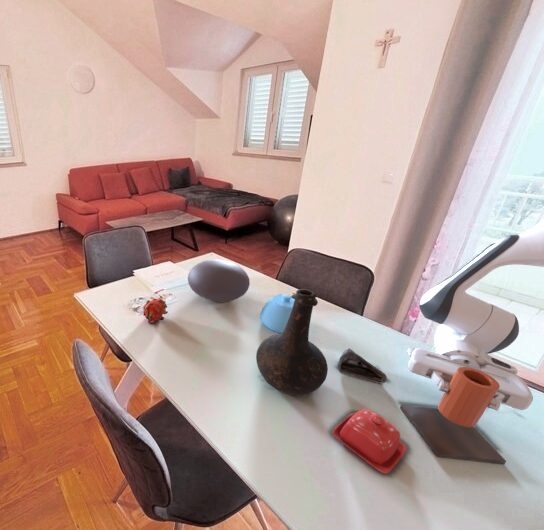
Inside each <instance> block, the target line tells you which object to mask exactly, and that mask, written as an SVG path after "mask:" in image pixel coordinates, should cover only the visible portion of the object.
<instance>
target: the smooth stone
mask: <svg viewBox="0 0 544 530" xmlns="http://www.w3.org/2000/svg"><path fill="white" fill-rule="evenodd" d="M187 283H188V285H189V287H190V289H191V291H193V292H194V293H195V294H196V295H198V296H199V297H201V298H203V299H204V300H208V301H212V302H220V303H222V302H223V303H224V302H231V301H235V300H238V299H239V298H241V297H243V296H244V295H245V294H246V293H247V292H248V290H249V288H250V285H251V284H250V277H249V275H248V273H247V272H246V271H245V270H244V268H242V267H241V266H239V265H238V264H236V263H234V262H232V261H228V260H225V259H224V260H223V259H208V260H204V261H201V262H198V263H197V264H195V265H194V266H193V267H191V269H190V270H189V272H188V276H187Z"/></svg>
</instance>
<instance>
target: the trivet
mask: <svg viewBox="0 0 544 530" xmlns="http://www.w3.org/2000/svg"><path fill="white" fill-rule="evenodd" d="M399 408H400V410H401V411H402V413H403V414H404V415H405V417H406V418H407V419H408V420H409V422H410V423H411V425H412V426H413V427H414V428H415V430H416V432H418V434H419V435H420V437H421V438H422V439H423V441H424V442H425V444H427V446H428V447H429V448H430V450H431V451H432V452H433V454H434V455H435V456H436V457H437V458H444V459H445V458H446V459H453V460H464V461H472V462H480V463H490V464H497V465H505V464H506V463H507V460H506V459H505V458H504V457H503V456H502V455H501V453H499V451H497V450H496V449H495V447H494V446H493V445H492V444H490V441H488V440H487V439H486V438H485V437H484V436H483V434H482V433H480V432H479V430H478V429H477V428H476V427H475V426H474V427H465V426H461V425H458V424H456V423H454V422H452V421H450V420H448V419H447V418H446V417H444V416H443V415H442V414H441V413H440V411H439V410H438V407H437V408H436V407H425V406H416V405H406V404H401V405H400V407H399Z"/></svg>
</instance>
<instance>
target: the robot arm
mask: <svg viewBox="0 0 544 530" xmlns="http://www.w3.org/2000/svg"><path fill="white" fill-rule="evenodd" d="M511 265H514V266H515V265H521V266H533V267H540V268H541V267H542V268H544V218H542V220H540V221H539V223H537V224H536V225H534V226H533V227H531V228H529V229H527V230H526V231H523V232H521V233H519V234H507V235H504V236H502V237H500V238H498V239H496V240H495V241H493V242H492V243H491V244H489V245H487V246H486V247H485V248H484V249H482V250H481V251H480V252H478V253H477V254H476V255H475V256H473V257H472V258H471V259H469V260H468V261H466V263H464V264H463V265H462V266H460V267H459V268H458V269H457V270H455V271H454V272H453V273H451V274H450V275H449V276H447V278H445V279H444V280H442V281H441V282H439V283H438V284H436V285H435V286H433V287H431V288H430V289H429V290H427V291H426V292H425V293H424V294H423V295H422V296H421V297H420V299H419V302H418V307H419V310H420V312H421V314H422V316H423V317H424V318H425V319H427V320H429V321H432V322H434V323H436V324H439V325H438V326H437V327H436V330H435V331H434V336H433V343H434V344H433V345H434V349H435V351H432V350H428V349H426V348H421V347H415V348H414V347H409V348H407V355H408V357H410V358H409V361H408V363H407V370H408V371H409V372H411V373H413V374H415V375H418V376H421V377H424V378H427V379H430V380H431V382H433V383H434V385H436V386H437V388H438V391H441V392H443V393H445V392H446V393H448V390H449V389H450V386H449V385H450V382H451V380H452V378H453V376H454V374H455V372H456V371H457V369H458V368H459V367H468V368H473V369H476V370H479V371H482V372H484V373H486V374H488V375H489V376H491V377H493V378H494V379H495V380H496V381H497V382H498V383H499V386H500V387H499V389H498V391H497V392H496V394H495V395H494V397H493V399H492V400H491V402H490V403H489V405H488V407H487V408H488V409H491V410H493V411H496V412H497V411H499V408H500V407H501V405H505V406H508V407H511V408H513V409H516V410H519V411H525V410H527V409H528V408H529V407H530V406H531V405H532V402H533V400H534V396H533V393H532V391H531V389H530V387H529V386H528V384H527V383H526V381H525V380H524V379H523V378H522V377H520V375H517V374H518V369H517V367H516V366H514V365H512V364H509V363H507V362H504V361H502V360H500V359H497V358H495V357H494V356H492V355H490V354H493V353H496V352H500V351H503V350H505V349H506V348H508V347H509V346H510V345H512V344H513V343H514V342H515V341H516V340H517V338H518V336H519V333H520V324H519V320H518V318H517V316H516V315H515V314H514V313H512V312H510V311H508V310H506V309H504V308H501V307H499V306H498V305H495V304H492V303H489V302H487V301H485V300H482V299H480V298H478V297H476V296H474V295H471V294H469V293H467V290H469V289H470V288H471V287H472V286H474V285H476V283H478V282H479V281H481V280H482V279H484V278H485V277H486V276H487V275H488V274H490V273H491V272H493V271H494V270H496V269H498V268H500V267H504V266H511Z"/></svg>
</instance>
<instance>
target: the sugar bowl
mask: <svg viewBox="0 0 544 530" xmlns="http://www.w3.org/2000/svg"><path fill="white" fill-rule="evenodd" d="M291 296H292V295H290V294H286V293H285V294H276V295H274V296H273V297H270V299H269V300H268V301H267V302H265V303H264V305H263V307H262V309H261V310H260V314H259V316H260V320H261V321H262V323H263V324H264V326H265V327H266V328H268V329H269V330H270V331H272V332H276V333H277V334H282V332H283V331H284V329H285V326H286V324H287V322H288V319H289V317H290V314H291V311H292V307H293V304H294V301H295V299H293V298H292V297H291Z"/></svg>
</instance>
